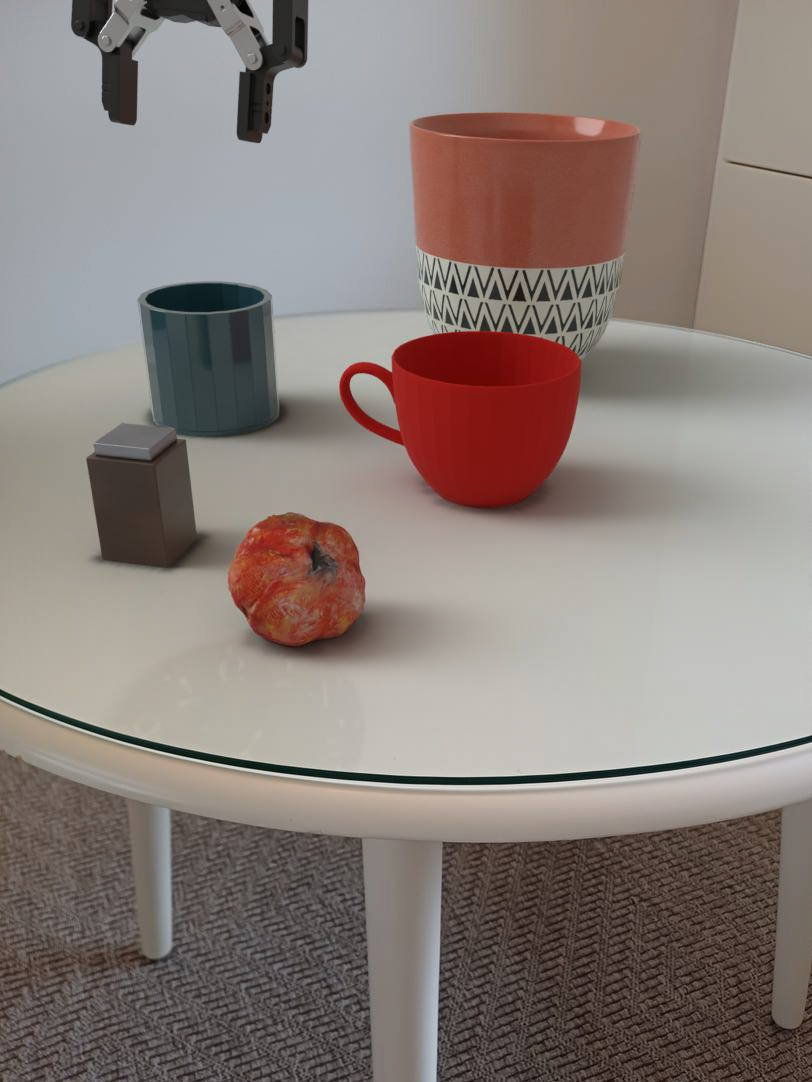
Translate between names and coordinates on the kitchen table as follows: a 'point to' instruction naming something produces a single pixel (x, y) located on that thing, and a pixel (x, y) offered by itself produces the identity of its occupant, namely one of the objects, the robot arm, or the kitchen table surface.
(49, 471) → the kitchen table surface
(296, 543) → the pomegranate
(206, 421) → the crock
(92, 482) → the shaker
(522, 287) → the planter
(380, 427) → the ceramic cup
